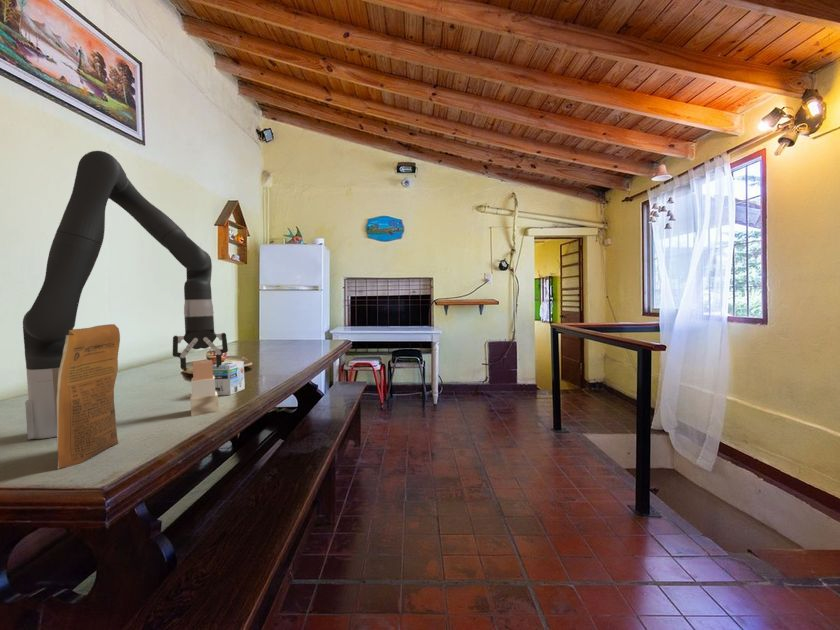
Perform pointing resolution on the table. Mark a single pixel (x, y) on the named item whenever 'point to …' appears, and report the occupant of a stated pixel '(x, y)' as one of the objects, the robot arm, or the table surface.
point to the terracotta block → (202, 370)
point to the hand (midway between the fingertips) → (201, 368)
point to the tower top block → (203, 388)
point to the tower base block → (204, 405)
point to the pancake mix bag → (87, 394)
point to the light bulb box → (229, 377)
